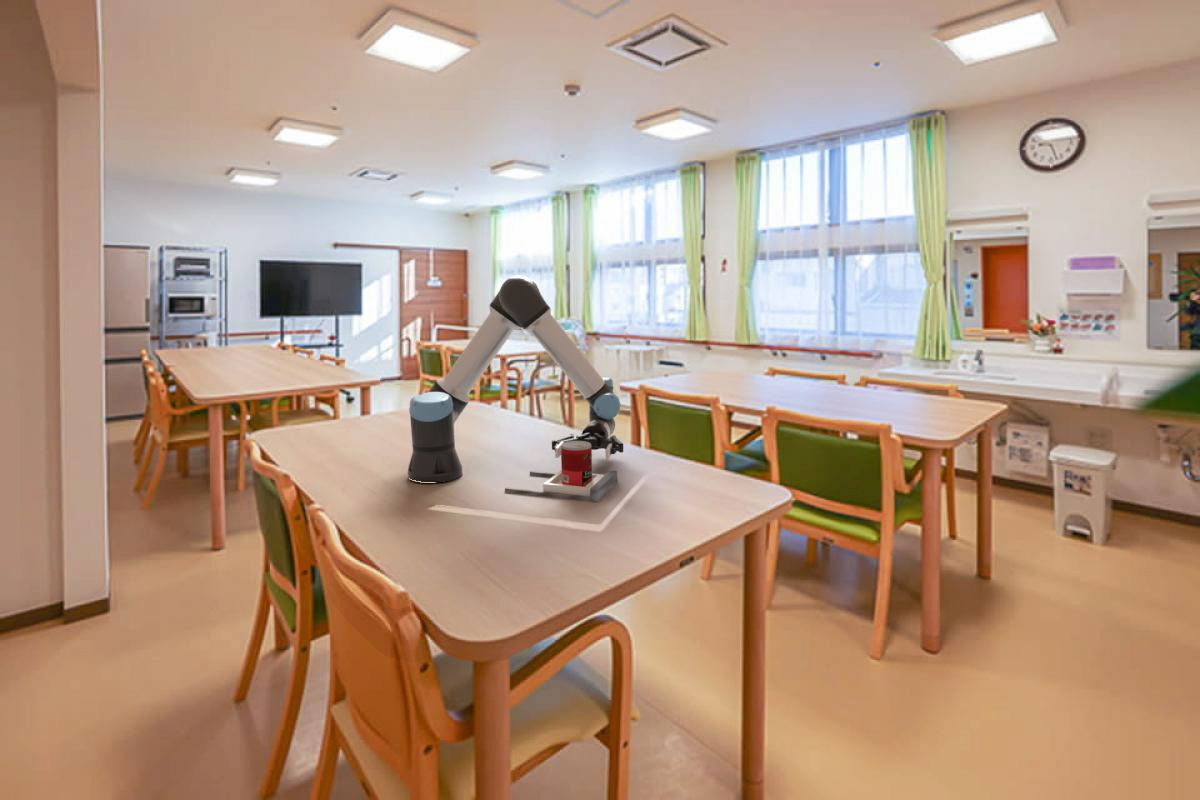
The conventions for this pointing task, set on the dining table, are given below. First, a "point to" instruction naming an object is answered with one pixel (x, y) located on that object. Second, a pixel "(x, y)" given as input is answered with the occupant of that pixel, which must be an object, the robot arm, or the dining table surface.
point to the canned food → (576, 463)
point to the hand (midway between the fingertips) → (581, 454)
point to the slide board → (595, 494)
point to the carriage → (557, 486)
